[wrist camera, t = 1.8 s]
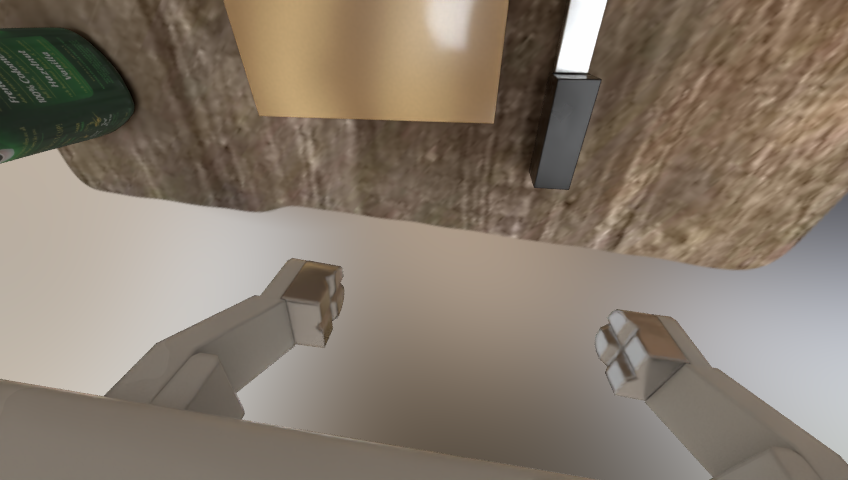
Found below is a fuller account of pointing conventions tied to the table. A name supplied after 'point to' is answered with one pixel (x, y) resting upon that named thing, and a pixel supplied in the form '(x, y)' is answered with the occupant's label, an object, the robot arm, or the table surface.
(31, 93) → the coffee jar
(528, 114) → the table surface
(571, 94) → the knife
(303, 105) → the cutting board
